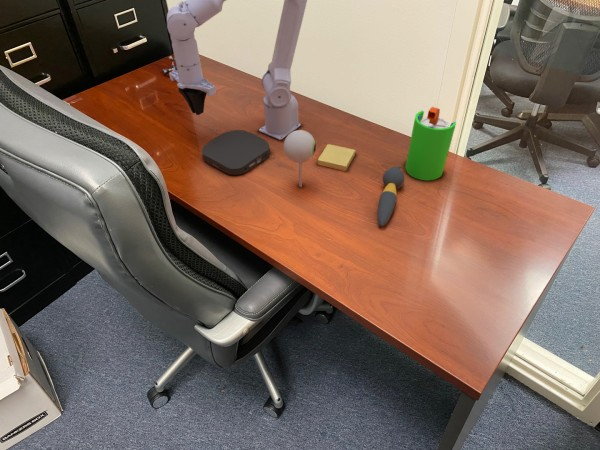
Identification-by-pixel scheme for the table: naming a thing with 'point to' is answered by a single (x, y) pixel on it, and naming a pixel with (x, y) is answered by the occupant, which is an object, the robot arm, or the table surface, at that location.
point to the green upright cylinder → (429, 145)
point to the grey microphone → (389, 194)
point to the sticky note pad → (336, 157)
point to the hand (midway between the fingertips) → (198, 112)
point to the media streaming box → (236, 151)
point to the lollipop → (299, 148)
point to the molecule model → (171, 66)
